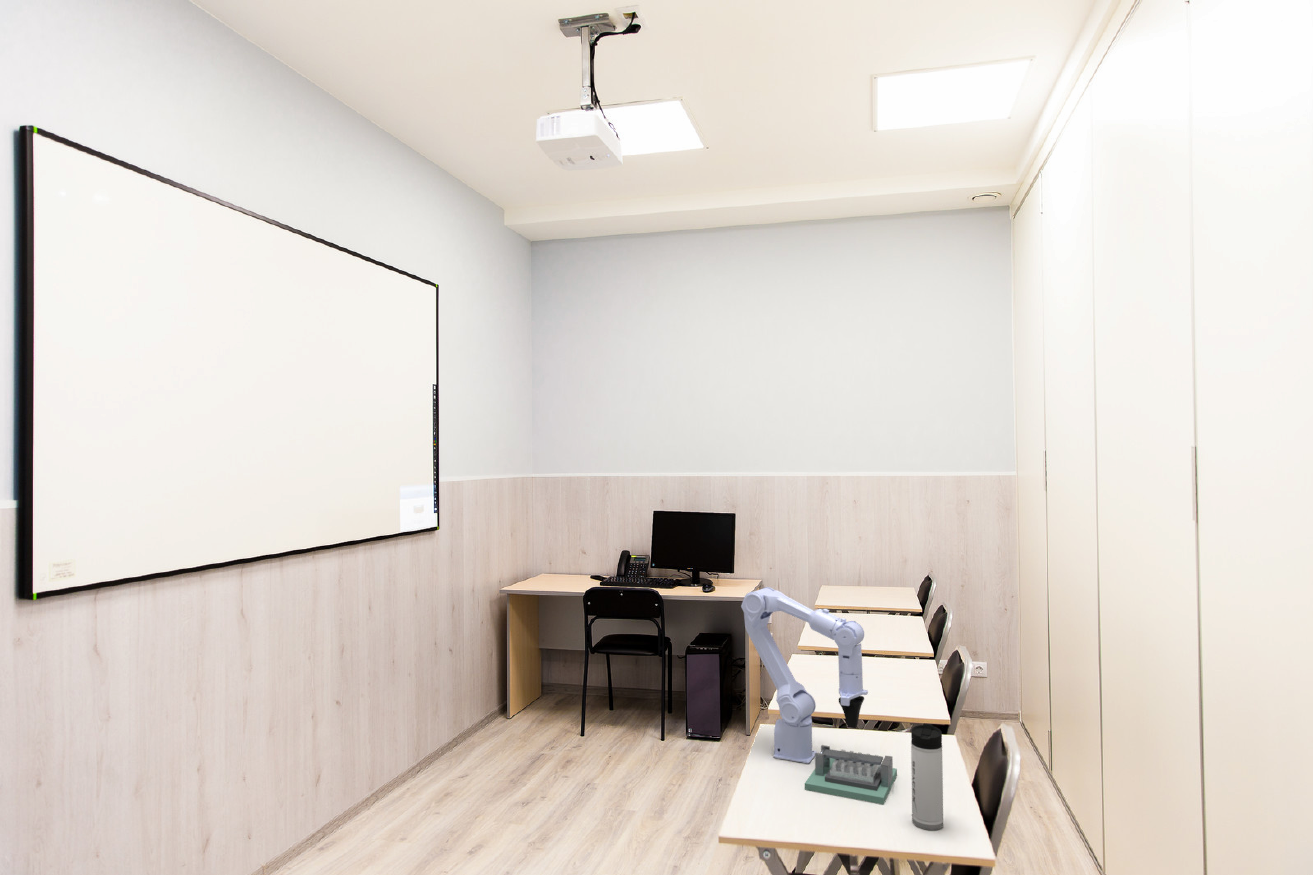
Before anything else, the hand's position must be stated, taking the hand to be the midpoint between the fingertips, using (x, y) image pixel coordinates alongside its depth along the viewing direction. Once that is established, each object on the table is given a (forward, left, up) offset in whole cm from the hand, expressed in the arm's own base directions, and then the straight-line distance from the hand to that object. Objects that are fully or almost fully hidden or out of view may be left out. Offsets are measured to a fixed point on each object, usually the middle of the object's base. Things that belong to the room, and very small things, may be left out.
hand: (852, 727), depth 194 cm
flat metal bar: (+1, -8, -5) cm, 9 cm away
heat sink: (+2, -8, -9) cm, 12 cm away
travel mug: (+20, -22, -11) cm, 32 cm away
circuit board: (+1, -8, -10) cm, 13 cm away
